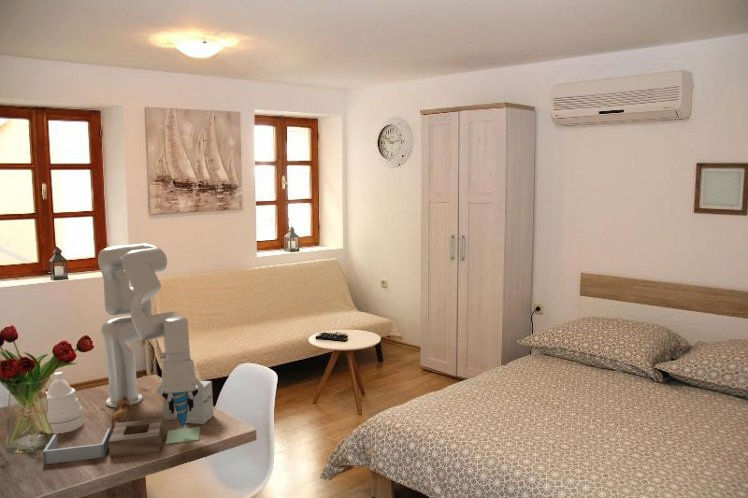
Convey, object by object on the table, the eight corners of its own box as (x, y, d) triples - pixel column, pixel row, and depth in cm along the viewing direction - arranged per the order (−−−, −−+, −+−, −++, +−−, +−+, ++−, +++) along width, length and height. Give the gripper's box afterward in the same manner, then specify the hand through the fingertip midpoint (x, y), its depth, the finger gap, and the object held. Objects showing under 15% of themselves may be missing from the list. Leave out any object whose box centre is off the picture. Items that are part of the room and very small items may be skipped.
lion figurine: (117, 420, 216) (115, 395, 215) (133, 418, 217) (131, 393, 216) (108, 438, 201) (106, 411, 200) (126, 436, 203) (124, 409, 201)
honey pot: (43, 422, 216) (38, 371, 213) (84, 416, 220) (80, 366, 218) (39, 437, 204) (33, 383, 201) (82, 430, 208) (77, 377, 206)
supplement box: (204, 424, 210) (202, 388, 208) (184, 423, 211) (181, 387, 210) (214, 415, 217) (212, 380, 215) (194, 414, 219) (192, 379, 217)
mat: (168, 431, 205) (168, 430, 205) (200, 427, 207) (200, 426, 207) (165, 444, 195) (165, 443, 195) (198, 440, 198) (198, 439, 197)
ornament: (175, 431, 197) (171, 385, 195) (173, 425, 202) (169, 380, 200) (192, 428, 199) (188, 382, 197) (190, 422, 204) (186, 377, 202)
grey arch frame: (55, 446, 196) (53, 434, 195) (111, 440, 200) (110, 428, 199) (44, 464, 184) (42, 451, 184) (104, 457, 188) (103, 444, 187)
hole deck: (117, 438, 201) (116, 423, 200) (163, 432, 204) (162, 418, 203) (110, 457, 187) (108, 441, 187) (159, 451, 191) (158, 435, 190)
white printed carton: (164, 419, 215) (162, 391, 214) (172, 412, 222) (170, 385, 220) (175, 419, 215) (173, 391, 213) (182, 412, 221) (180, 384, 220)
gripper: (148, 361, 192) (152, 418, 195) (205, 356, 196) (208, 412, 198) (150, 354, 200) (155, 409, 202) (205, 349, 203) (209, 403, 206)
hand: (181, 410), depth 200 cm, fingers closed on ornament, 4 cm apart
